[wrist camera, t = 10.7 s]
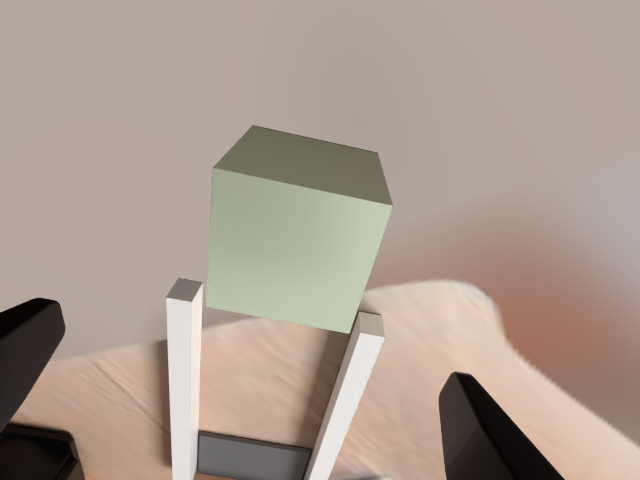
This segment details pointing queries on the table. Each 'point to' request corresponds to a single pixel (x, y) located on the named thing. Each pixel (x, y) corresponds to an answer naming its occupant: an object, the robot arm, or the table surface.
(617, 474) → the table surface
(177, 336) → the channel
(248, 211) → the block
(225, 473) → the grey and orange drawer
